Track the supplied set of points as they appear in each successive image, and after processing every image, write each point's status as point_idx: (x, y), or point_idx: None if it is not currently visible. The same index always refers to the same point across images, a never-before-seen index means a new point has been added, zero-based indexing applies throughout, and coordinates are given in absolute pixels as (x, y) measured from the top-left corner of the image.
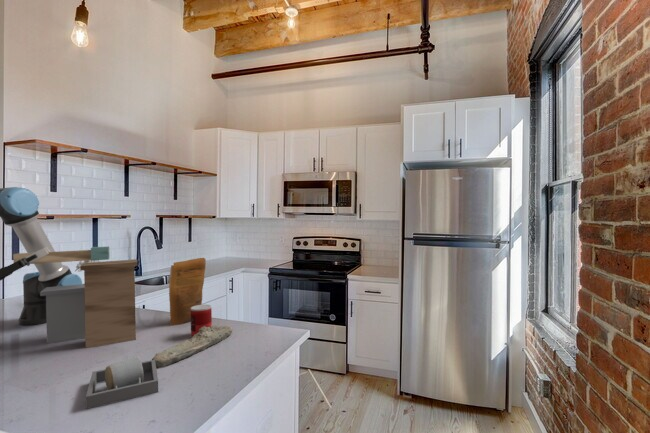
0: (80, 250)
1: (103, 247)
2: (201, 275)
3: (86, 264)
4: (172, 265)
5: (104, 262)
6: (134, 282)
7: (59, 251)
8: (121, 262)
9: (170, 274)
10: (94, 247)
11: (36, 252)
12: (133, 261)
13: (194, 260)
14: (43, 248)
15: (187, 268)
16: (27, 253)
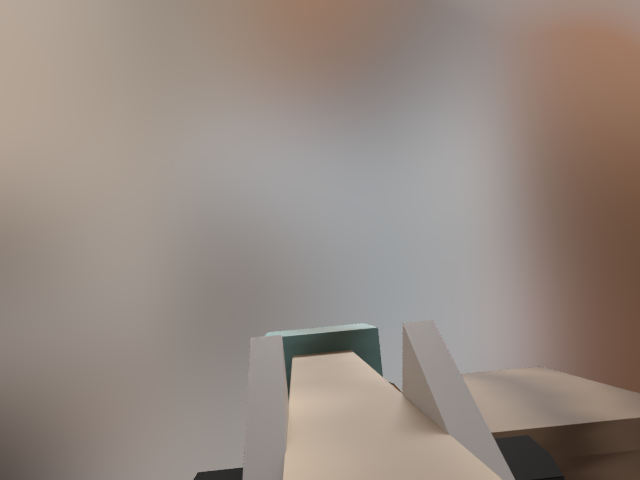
0: (303, 362)
1: (362, 324)
2: None
3: (599, 414)
4: (402, 393)
5: (504, 399)
6: None
7: (300, 386)
8: (536, 378)
9: None
10: (316, 332)
11: (470, 405)
12: (506, 372)
13: None
14: (436, 330)
15: None
16: (474, 466)
